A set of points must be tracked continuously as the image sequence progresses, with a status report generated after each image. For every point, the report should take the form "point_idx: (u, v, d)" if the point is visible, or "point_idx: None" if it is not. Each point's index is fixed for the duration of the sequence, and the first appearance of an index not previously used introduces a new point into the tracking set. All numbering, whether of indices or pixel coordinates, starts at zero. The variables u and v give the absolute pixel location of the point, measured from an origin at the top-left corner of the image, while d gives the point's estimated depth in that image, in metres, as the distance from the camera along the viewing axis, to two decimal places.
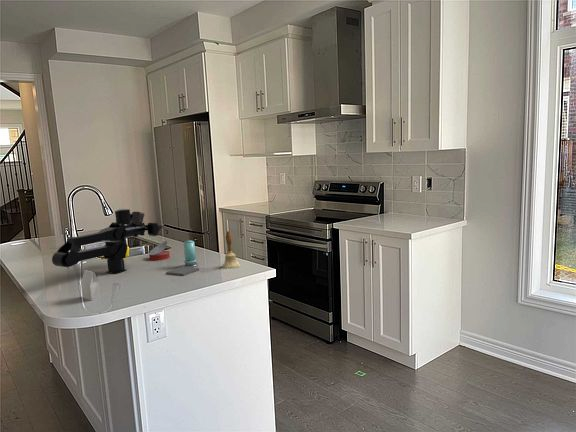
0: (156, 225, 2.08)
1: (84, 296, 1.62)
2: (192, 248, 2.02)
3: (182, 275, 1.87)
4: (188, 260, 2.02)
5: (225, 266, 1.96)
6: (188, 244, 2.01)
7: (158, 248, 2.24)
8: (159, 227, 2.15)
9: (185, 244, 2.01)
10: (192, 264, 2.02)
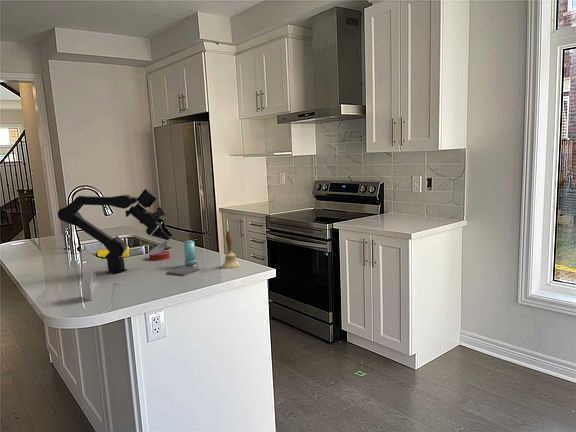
0: (155, 226, 1.91)
1: (84, 296, 1.62)
2: (192, 248, 2.02)
3: (182, 275, 1.87)
4: (188, 260, 2.02)
5: (225, 266, 1.96)
6: (188, 244, 2.01)
7: (158, 248, 2.24)
8: (163, 235, 1.96)
9: (185, 244, 2.01)
10: (192, 264, 2.02)
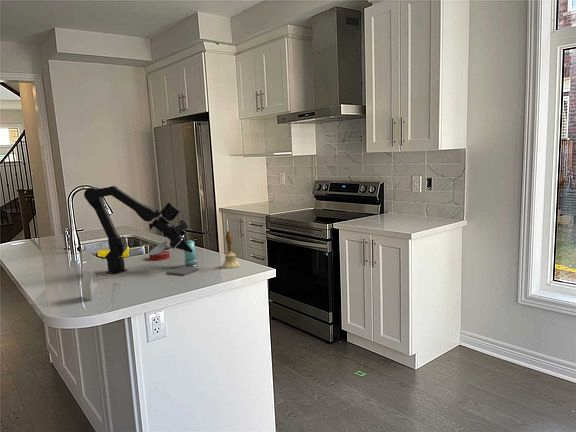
0: (179, 239, 1.93)
1: (84, 296, 1.62)
2: (192, 248, 2.02)
3: (182, 275, 1.87)
4: (188, 260, 2.02)
5: (225, 266, 1.96)
6: (188, 244, 2.01)
7: (158, 248, 2.24)
8: (187, 248, 1.99)
9: None
10: (192, 264, 2.02)
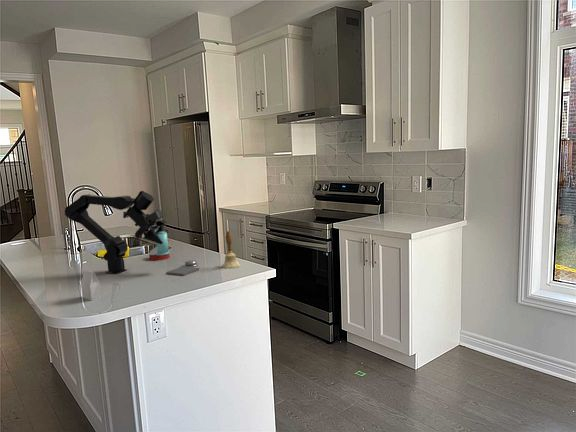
0: (143, 230, 1.84)
1: (84, 296, 1.62)
2: (163, 239, 1.92)
3: (182, 275, 1.87)
4: (159, 252, 1.92)
5: (225, 266, 1.96)
6: (158, 235, 1.91)
7: None
8: (156, 239, 1.90)
9: None
10: (192, 264, 2.02)
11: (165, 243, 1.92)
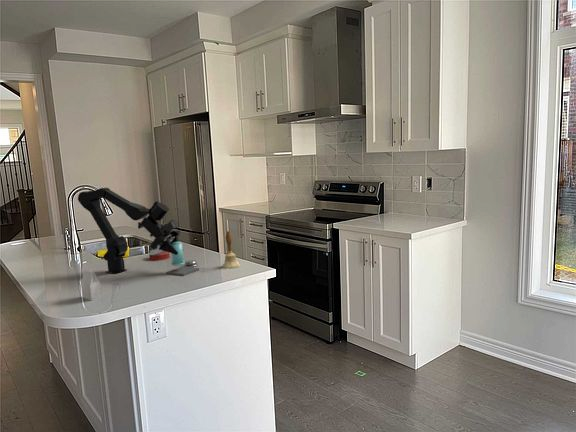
0: (158, 241, 1.84)
1: (84, 296, 1.62)
2: (178, 250, 1.91)
3: (182, 275, 1.87)
4: (174, 262, 1.91)
5: (225, 266, 1.96)
6: (174, 246, 1.90)
7: (158, 248, 2.24)
8: (171, 250, 1.89)
9: None
10: (192, 264, 2.02)
11: (180, 253, 1.91)
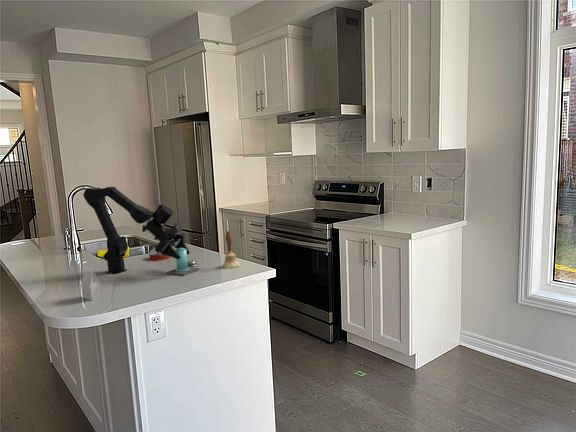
0: (163, 244, 1.83)
1: (84, 296, 1.62)
2: (183, 256, 1.91)
3: (182, 275, 1.87)
4: (178, 269, 1.91)
5: (225, 266, 1.96)
6: (178, 252, 1.90)
7: None
8: (173, 254, 1.87)
9: None
10: (192, 264, 2.02)
11: (185, 260, 1.91)
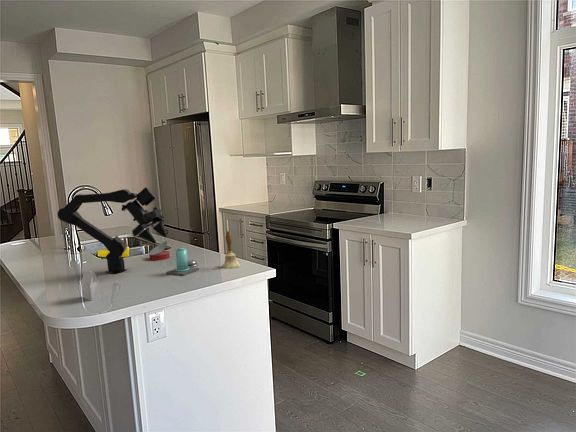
0: (140, 229, 1.90)
1: (84, 296, 1.62)
2: (183, 256, 1.91)
3: (182, 275, 1.87)
4: (178, 269, 1.91)
5: (225, 266, 1.96)
6: (178, 252, 1.90)
7: (158, 248, 2.24)
8: (150, 238, 1.94)
9: (176, 252, 1.91)
10: (192, 264, 2.02)
11: (185, 260, 1.91)
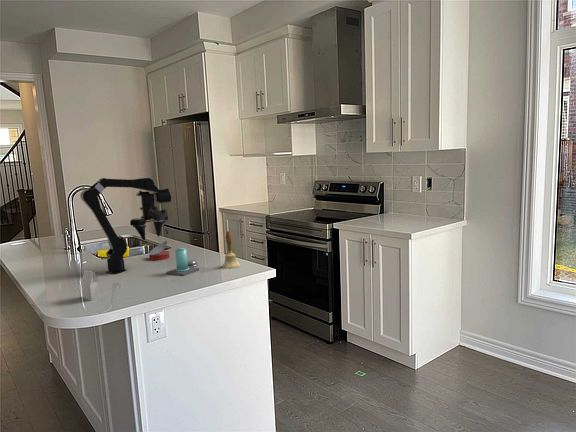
0: (137, 224, 1.98)
1: (84, 296, 1.62)
2: (183, 256, 1.91)
3: (182, 275, 1.87)
4: (178, 269, 1.91)
5: (225, 266, 1.96)
6: (178, 252, 1.90)
7: (158, 248, 2.24)
8: (141, 234, 2.03)
9: (176, 252, 1.91)
10: (192, 264, 2.02)
11: (185, 260, 1.91)
